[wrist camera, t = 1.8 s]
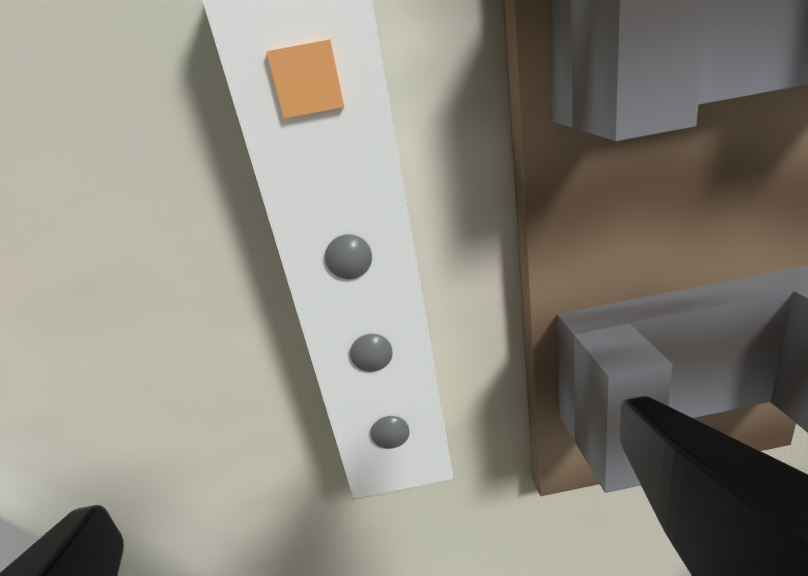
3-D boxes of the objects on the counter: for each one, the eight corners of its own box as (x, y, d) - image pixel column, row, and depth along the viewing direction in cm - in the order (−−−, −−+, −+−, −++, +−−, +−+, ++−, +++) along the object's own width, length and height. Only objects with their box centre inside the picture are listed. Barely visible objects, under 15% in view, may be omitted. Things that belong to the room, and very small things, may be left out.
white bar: (440, 426, 22) (454, 483, 19) (352, 444, 22) (353, 504, 19) (357, -49, 14) (359, -78, 11) (220, -24, 14) (185, -46, 11)
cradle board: (773, 430, 24) (873, 517, 19) (533, 479, 23) (577, 579, 19) (950, -349, 12) (1295, -582, 8) (487, -275, 12) (572, -474, 8)
